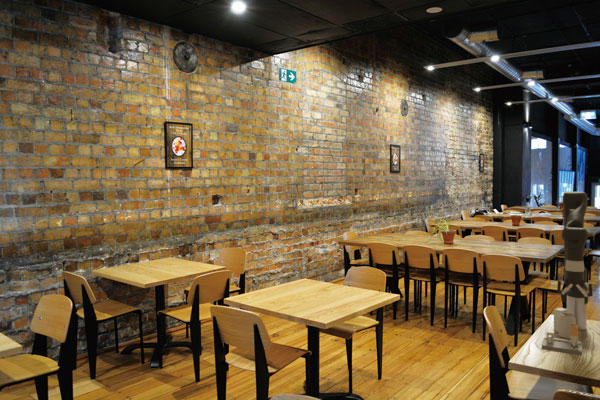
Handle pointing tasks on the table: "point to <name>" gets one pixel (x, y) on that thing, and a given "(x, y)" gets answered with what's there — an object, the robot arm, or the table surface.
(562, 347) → the gauge board
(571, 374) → the table surface
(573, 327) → the divider leg
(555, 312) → the skincare box
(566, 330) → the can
